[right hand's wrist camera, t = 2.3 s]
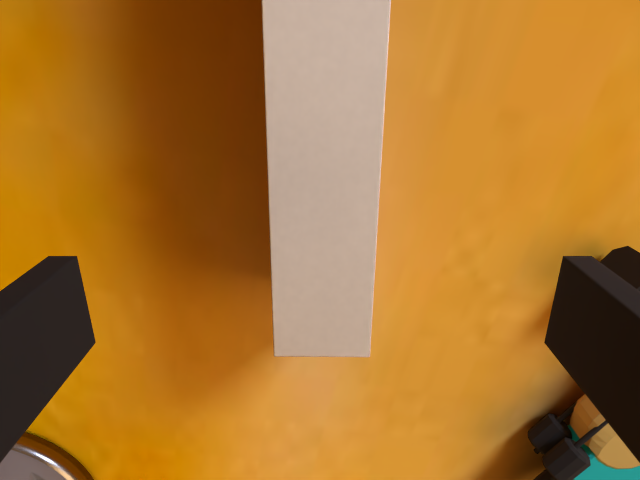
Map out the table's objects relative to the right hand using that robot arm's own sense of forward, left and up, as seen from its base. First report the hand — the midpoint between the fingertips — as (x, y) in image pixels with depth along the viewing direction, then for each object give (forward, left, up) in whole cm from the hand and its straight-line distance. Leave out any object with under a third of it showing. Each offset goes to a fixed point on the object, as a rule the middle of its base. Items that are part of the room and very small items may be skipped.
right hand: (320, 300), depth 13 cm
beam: (+22, +5, -16) cm, 28 cm away
